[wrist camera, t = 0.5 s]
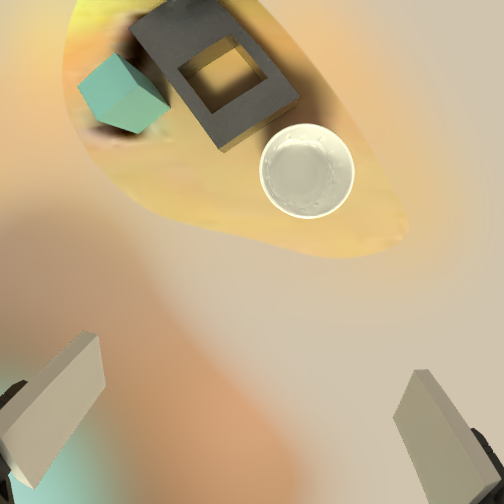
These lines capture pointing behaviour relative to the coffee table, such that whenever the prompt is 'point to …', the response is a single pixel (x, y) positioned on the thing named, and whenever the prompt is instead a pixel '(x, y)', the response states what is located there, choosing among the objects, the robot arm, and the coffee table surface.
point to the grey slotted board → (204, 52)
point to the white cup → (306, 170)
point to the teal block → (122, 95)
